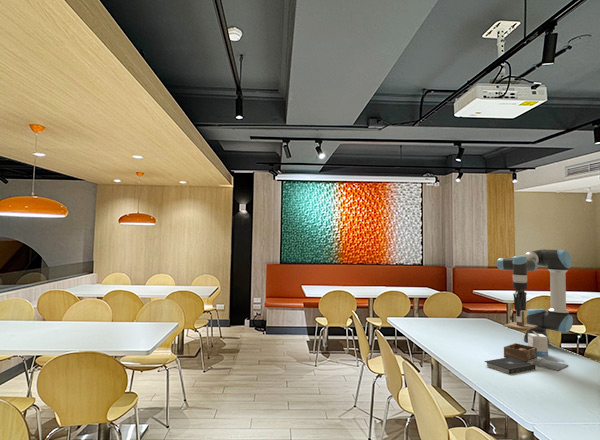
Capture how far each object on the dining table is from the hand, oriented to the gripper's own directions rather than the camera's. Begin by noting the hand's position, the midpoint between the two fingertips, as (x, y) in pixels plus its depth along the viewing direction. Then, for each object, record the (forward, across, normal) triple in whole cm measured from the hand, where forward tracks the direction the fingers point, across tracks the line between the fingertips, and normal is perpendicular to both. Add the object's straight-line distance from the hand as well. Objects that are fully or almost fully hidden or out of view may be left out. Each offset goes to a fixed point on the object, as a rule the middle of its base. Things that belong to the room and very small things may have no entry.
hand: (520, 321), depth 228 cm
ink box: (+22, -18, +3) cm, 28 cm away
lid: (+4, 0, 0) cm, 4 cm away
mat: (+21, +2, +16) cm, 27 cm away
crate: (+21, 0, 0) cm, 21 cm away
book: (+22, +26, +5) cm, 35 cm away
